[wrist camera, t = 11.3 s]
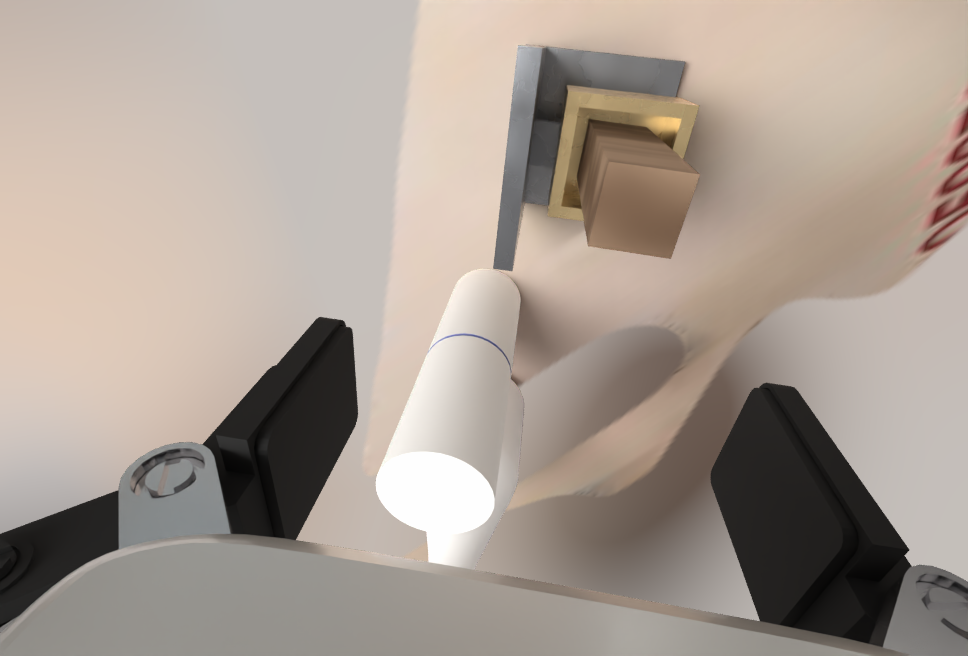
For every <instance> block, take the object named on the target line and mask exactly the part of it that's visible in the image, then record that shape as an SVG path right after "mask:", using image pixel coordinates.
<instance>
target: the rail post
mask: <svg viewBox="0 0 968 656" xmlns="http://www.w3.org/2000/svg"><path fill="white" fill-rule="evenodd" d="M699 176H700V174H699V173H698V172H697V171H696V170H694V169H693V168H692V167H691V166H690V165H689V164H688V163H687V162H685V161H684V160H683V159H682V158H681V157H680V156H679V155H678V154H676V153H675V152H674V151H673V150H672V149H671V148H670V147H669V146H668V145H666V144H665V143H664V142H663V141H662V140H661V139H660V138H659V137H657V136H656V135H655V134H654V133H653V132H652V131H651V130H650V129H648V128H647V127H644V126H636V125H629V124H622V123H615V122H608V121H600V120H593V119H589V121H588V126H587V131H586V135H585V140H584V145H583V149H582V154H581V159H580V164H579V168H578V173H577V182H578V188H579V194H580V200H581V206H582V212H583V218H584V224H585V230H586V236H587V242H588V246H591V247H597V248H604V249H610V250H617V251H624V252H630V253H637V254H643V255H650V256H656V257H663V258H669V259H671V257H672V254H673V251H674V248H675V245H676V242H677V239H678V237H679V234H680V231H681V228H682V225H683V222H684V219H685V217H686V214H687V211H688V208H689V205H690V202H691V199H692V196H693V194H694V191H695V188H696V185H697V182H698V179H699Z"/></svg>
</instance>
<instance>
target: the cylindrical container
mask: <svg viewBox="0 0 968 656" xmlns="http://www.w3.org/2000/svg"><path fill="white" fill-rule="evenodd" d="M520 303H521V298H520V293H519V290H518V288H517V286H516V284H515V283H514V282H513V281H512V280H511V279H510V278H509V277H508V276H507V275H505V274H504V273H502V272H500V271H497V270H493V269H486V268H483V269H476V270H473V271H470V272H468V273H466V274H465V275H464V276H462V277H461V278H460V279H459V281H458V282H457V283H456V286H455V288H454V290H453V293H452V295H451V297H450V300H449V302H448V305H447V307H446V309H445V312H444V314H443V317H442V319H441V322H440V324H439V326H438V329H437V331H436V334H435V336H434V339H433V341H432V343H431V346H430V348H429V351H428V353H427V356H426V358H425V360H424V363H423V365H422V368H421V370H420V373H419V375H418V378H417V380H416V382H415V385H414V387H413V390H412V392H411V395H410V397H409V399H408V402H407V404H406V407H405V409H404V412H403V414H402V417H401V419H400V421H399V424H398V426H397V429H396V431H395V434H394V436H393V438H392V441H391V443H390V446H389V448H388V451H387V453H386V455H385V458H384V460H383V463H382V465H381V468H380V470H379V473H378V475H377V479H376V489H377V494H378V496H379V499H380V501H381V502H382V504H383V505H384V506H385V508H386V509H387V510H388V511H389V512H390V513H391V514H392V515H393V516H395V517H396V518H398V519H399V520H401V521H402V522H404V523H406V524H408V525H410V526H412V527H415V528H417V529H420V530H423V531H427V532H432V533H439V534H456V533H463V532H466V531H470V530H473V529H475V528H477V527H479V526H480V525H482V524H483V523H484V522H485V521H487V519H488V518H489V517H490V515H491V514H492V511H493V509H494V504H495V496H496V488H497V481H498V473H499V465H500V458H501V450H502V442H503V435H504V427H505V419H506V412H507V404H508V396H509V389H510V381H511V373H512V366H513V358H514V350H515V343H516V335H517V327H518V320H519V312H520Z"/></svg>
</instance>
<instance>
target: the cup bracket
mask: <svg viewBox="0 0 968 656" xmlns="http://www.w3.org/2000/svg"><path fill="white" fill-rule="evenodd" d="M684 64H685V62H683V61H674V60H665V59H656V58H647V57H637V56H628V55H619V54H609V53H600V52H591V51H582V50H572V49H563V48H554V47H544V46H535V45H518V50H517V59H516V68H515V77H514V86H513V95H512V104H511V113H510V122H509V131H508V140H507V149H506V158H505V167H504V176H503V185H502V194H501V203H500V212H499V221H498V230H497V239H496V248H495V257H494V266H493V269H500V270H508V271H512V270H513V265H514V259H515V254H516V249H517V243H518V238H519V232H520V227H521V222H522V216H523V211H524V206H525V203H533V204H541V205H548V216H549V217H557V218H565V219H572V220H580V221H584V218H583V212H582V206H581V200H580V194H579V188H578V182H577V173H578V168H579V164H580V159H581V154H582V149H583V145H584V140H585V135H586V131H587V126H588V121H589V119H593V120H600V121H608V122H615V123H622V124H629V125H636V126H644V127H647V128H648V129H650V130H651V131H652V132H653V133H654V134H655V135H656V136H657V137H659V138H660V139H661V140H662V141H663V142H664V143H665V144H666V145H668V146H669V147H670V148H671V149H672V150H673V151H674V152H675V153H676V154H678V155H679V156H680V157H681V158H682V159H683V158H684V155H685V152H686V149H687V145H688V142H689V139H690V135H691V132H692V129H693V125H694V122H695V119H696V116H697V112H698V109H699V105H696V104H694V103H692V102H689V101H687V100H685V99H682V98H678V97H676V93H677V90H678V86H679V83H680V79H681V75H682V72H683V68H684Z"/></svg>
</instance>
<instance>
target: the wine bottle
mask: <svg viewBox="0 0 968 656" xmlns="http://www.w3.org/2000/svg"><path fill="white" fill-rule="evenodd" d="M523 415H524V401H523V396H522V394H521V391H520V389H519V388H518V386H517V385H516V384H515V383H514V382H513V381H512V380H511V381H510V389H509V396H508V404H507V412H506V419H505V427H504V435H503V442H502V450H501V458H500V465H499V473H498V481H497V488H496V496H495V504H494V509H493V511H492V514H491V515H490V517H489V518H488V519H487V521H485V522H484V523H483V524H482V525H480V526H479V527H477V528H475V529H473V530H470V531H466V532H463V533H456V534H439V533H432V532H427V542H428V553H429V557H428V562H431V563H437V564H443V565H449V566H455V567H461V568H466V569H472V570H475V567H476V565H477V563H478V561H479V559H480V557H481V555H482V553H483V551H484V550H485V548H486V546H487V544H488V542H489V540H490V538H491V536H492V534H493V532H494V530H495V528H496V526H497V524H498V523H499V521H500V519H501V517H502V516H503V514H504V512H505V510H506V508H507V506H508V505H509V503H510V501H511V498H512V496H513V494H514V492H515V489H516V486H517V483H518V475H519V463H520V451H521V438H522V427H523Z"/></svg>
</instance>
